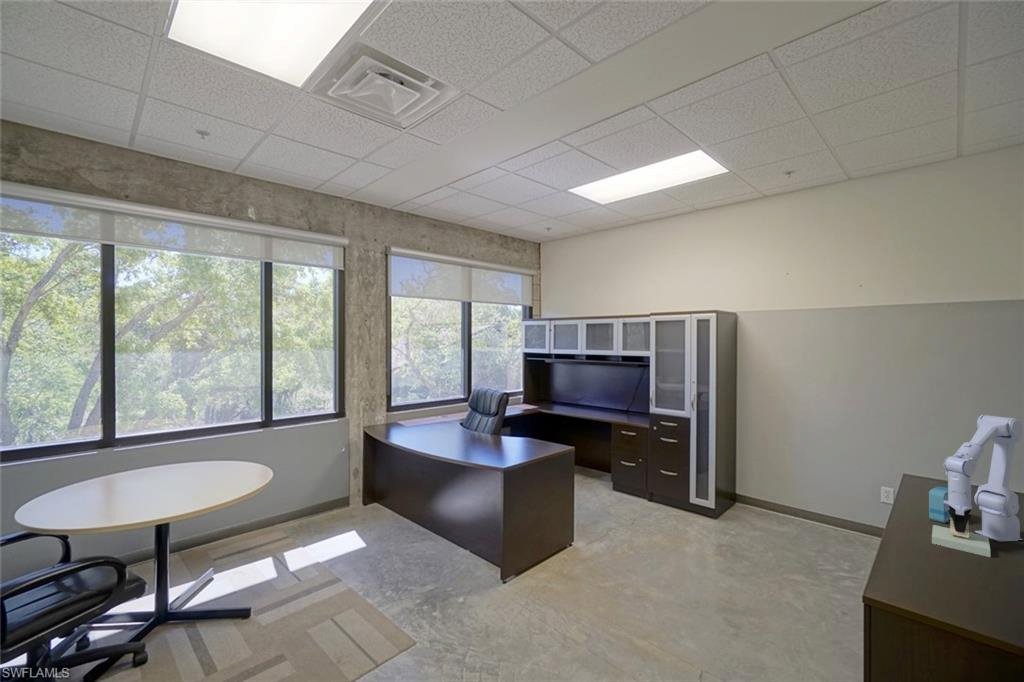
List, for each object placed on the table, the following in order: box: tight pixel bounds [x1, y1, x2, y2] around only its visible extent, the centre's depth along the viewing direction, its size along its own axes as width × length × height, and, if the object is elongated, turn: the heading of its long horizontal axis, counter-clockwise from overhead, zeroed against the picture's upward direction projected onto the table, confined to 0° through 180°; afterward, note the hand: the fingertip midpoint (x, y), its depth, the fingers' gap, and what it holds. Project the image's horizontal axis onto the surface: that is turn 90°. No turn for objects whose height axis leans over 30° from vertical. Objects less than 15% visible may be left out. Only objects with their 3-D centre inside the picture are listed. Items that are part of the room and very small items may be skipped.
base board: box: [931, 524, 991, 558], centre depth 154 cm, size 14×14×2 cm
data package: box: [928, 486, 952, 524], centre depth 175 cm, size 12×4×12 cm, turn 121°
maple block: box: [949, 518, 970, 538], centre depth 154 cm, size 4×4×4 cm
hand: (959, 529), depth 154 cm, fingers closed on maple block, 4 cm apart
